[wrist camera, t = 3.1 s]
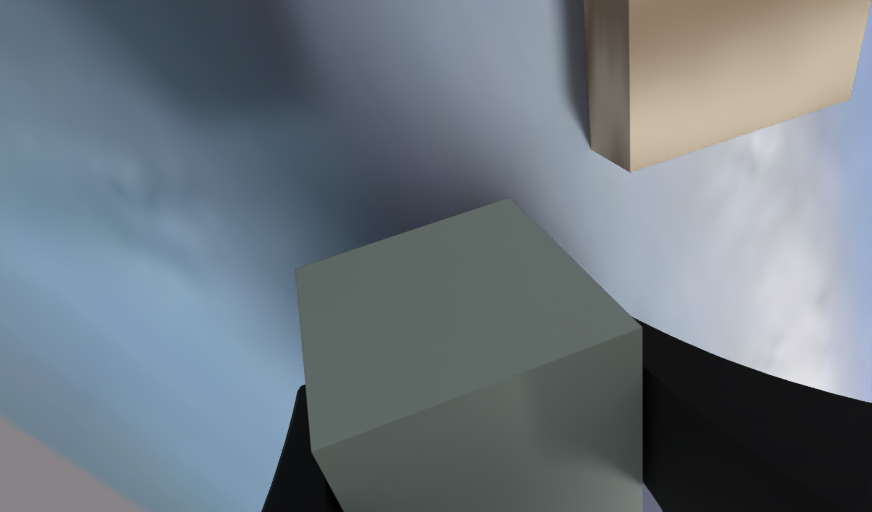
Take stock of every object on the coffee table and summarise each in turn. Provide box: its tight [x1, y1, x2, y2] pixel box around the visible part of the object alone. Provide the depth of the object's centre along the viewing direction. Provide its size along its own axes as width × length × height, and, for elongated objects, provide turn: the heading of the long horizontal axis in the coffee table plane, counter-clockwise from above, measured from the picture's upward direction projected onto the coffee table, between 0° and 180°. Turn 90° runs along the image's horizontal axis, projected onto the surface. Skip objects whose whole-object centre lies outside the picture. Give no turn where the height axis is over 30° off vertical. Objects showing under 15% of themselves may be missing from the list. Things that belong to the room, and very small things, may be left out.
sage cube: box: [295, 198, 643, 512], centre depth 11 cm, size 5×5×5 cm
